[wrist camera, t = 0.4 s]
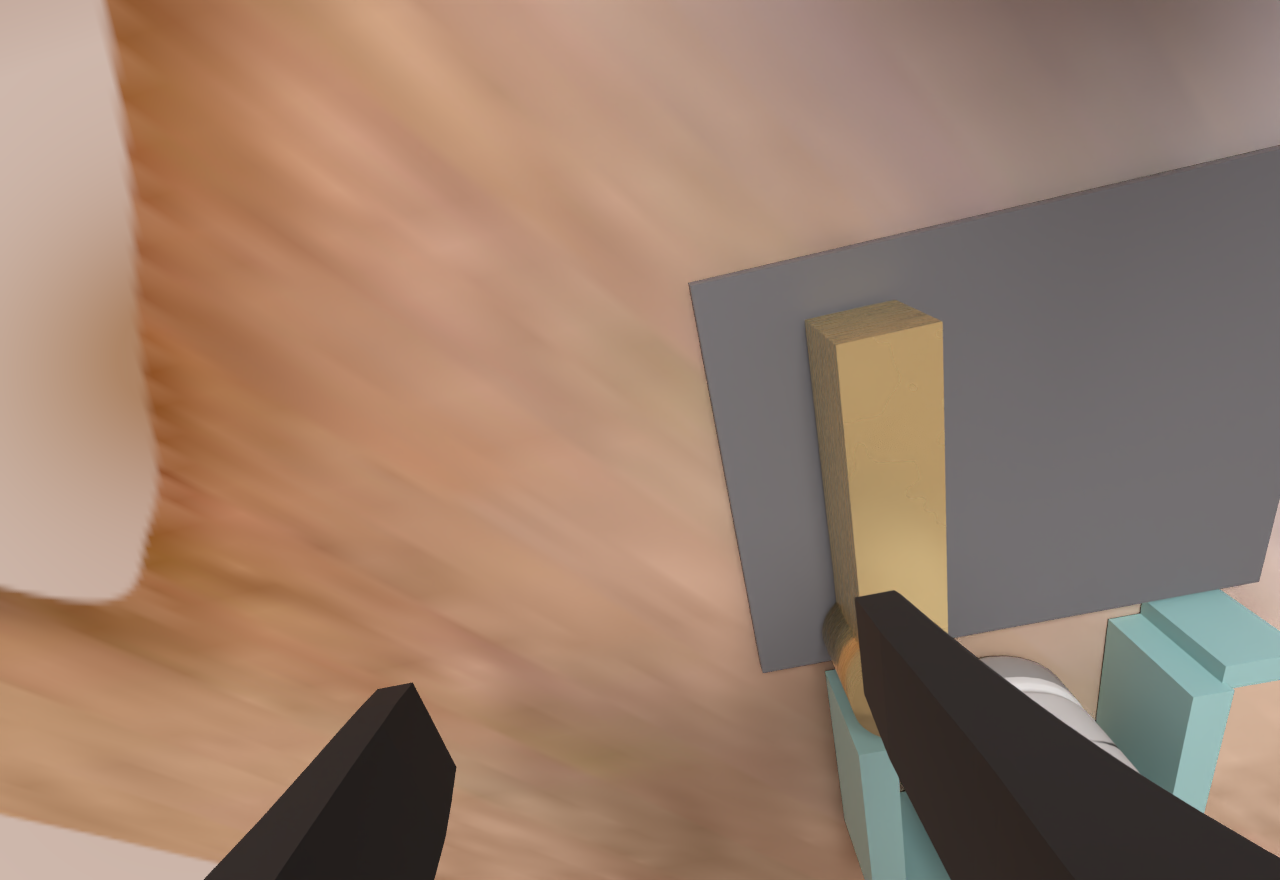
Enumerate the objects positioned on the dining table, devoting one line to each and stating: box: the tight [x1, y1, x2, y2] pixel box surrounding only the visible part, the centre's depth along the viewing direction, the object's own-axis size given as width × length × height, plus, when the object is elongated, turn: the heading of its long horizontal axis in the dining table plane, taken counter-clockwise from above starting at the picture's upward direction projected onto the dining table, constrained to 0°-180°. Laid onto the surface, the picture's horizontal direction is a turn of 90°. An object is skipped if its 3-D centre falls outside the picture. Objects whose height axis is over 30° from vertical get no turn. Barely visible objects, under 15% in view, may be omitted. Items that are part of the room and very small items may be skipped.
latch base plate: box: [688, 145, 1280, 673], centre depth 18 cm, size 17×14×1 cm
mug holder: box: [825, 589, 1280, 880], centre depth 22 cm, size 14×9×4 cm
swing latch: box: [805, 300, 948, 737], centre depth 17 cm, size 13×4×3 cm, turn 13°
